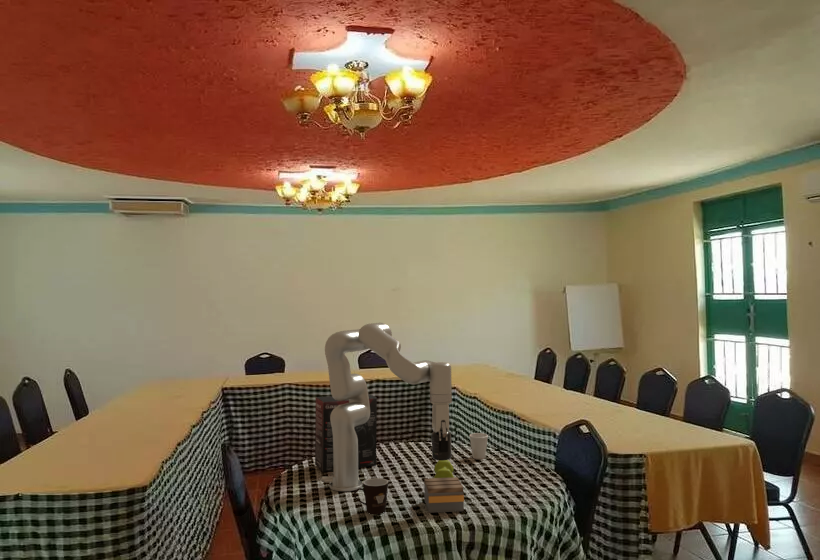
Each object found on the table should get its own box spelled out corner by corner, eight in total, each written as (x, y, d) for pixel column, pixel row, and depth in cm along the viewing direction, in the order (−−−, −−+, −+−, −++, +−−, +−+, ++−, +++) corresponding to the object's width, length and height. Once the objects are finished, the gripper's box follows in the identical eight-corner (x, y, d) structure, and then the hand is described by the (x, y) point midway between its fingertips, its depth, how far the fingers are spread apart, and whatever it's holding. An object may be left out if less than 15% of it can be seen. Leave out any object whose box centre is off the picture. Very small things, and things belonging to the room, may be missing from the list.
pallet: (428, 493, 216) (428, 488, 216) (424, 482, 228) (424, 478, 228) (463, 491, 217) (463, 487, 217) (457, 481, 229) (457, 477, 229)
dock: (429, 513, 215) (428, 494, 215) (424, 500, 228) (424, 482, 228) (464, 511, 216) (463, 492, 216) (457, 499, 229) (457, 481, 229)
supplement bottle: (439, 454, 227) (439, 421, 227) (455, 457, 223) (454, 423, 223) (428, 458, 222) (427, 424, 222) (443, 462, 218) (443, 426, 218)
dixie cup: (491, 456, 286) (491, 434, 286) (483, 461, 279) (483, 438, 279) (474, 454, 290) (474, 432, 290) (466, 458, 283) (466, 435, 283)
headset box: (367, 458, 285) (366, 384, 285) (378, 465, 273) (377, 388, 273) (314, 465, 274) (313, 389, 275) (323, 473, 263) (322, 393, 263)
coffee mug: (388, 506, 222) (388, 478, 222) (388, 515, 213) (388, 485, 214) (355, 507, 222) (355, 478, 222) (353, 516, 213) (353, 486, 213)
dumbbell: (454, 489, 240) (454, 470, 240) (433, 489, 241) (433, 470, 241) (453, 476, 257) (453, 458, 257) (434, 476, 257) (433, 458, 257)
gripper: (427, 394, 231) (428, 443, 231) (433, 403, 214) (434, 456, 213) (447, 393, 232) (448, 442, 231) (455, 402, 214) (456, 455, 214)
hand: (441, 448), depth 222 cm, fingers closed on supplement bottle, 6 cm apart
